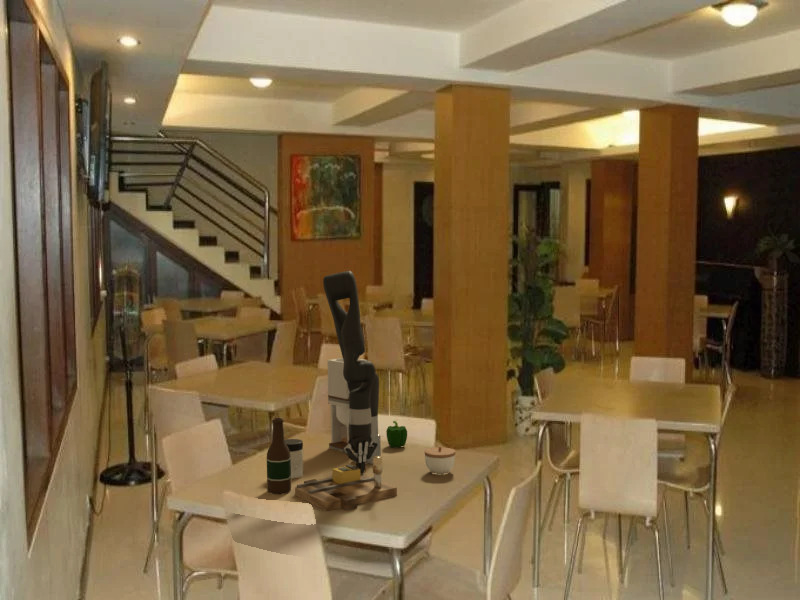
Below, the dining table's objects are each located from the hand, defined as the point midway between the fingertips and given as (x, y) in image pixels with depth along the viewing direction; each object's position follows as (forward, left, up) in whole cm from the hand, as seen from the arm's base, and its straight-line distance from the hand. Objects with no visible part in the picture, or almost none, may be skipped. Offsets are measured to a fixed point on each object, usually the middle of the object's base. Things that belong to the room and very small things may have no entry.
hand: (360, 472), depth 282 cm
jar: (+12, -26, -5) cm, 29 cm away
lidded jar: (-31, +3, -5) cm, 31 cm away
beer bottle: (+24, -12, -5) cm, 27 cm away
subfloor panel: (+9, +5, -5) cm, 11 cm away
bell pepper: (-41, -36, -5) cm, 55 cm away
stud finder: (+5, 0, -2) cm, 6 cm away
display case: (-24, -46, -5) cm, 52 cm away
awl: (+1, +12, -2) cm, 12 cm away
